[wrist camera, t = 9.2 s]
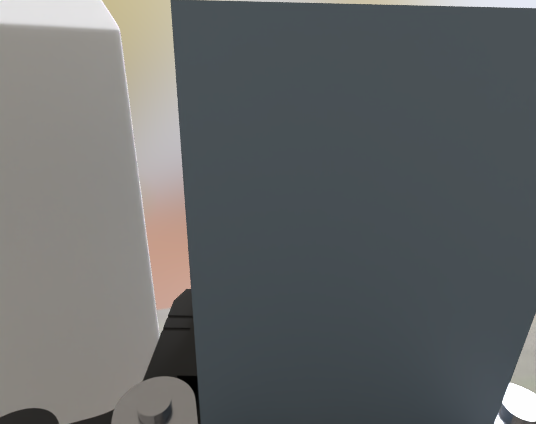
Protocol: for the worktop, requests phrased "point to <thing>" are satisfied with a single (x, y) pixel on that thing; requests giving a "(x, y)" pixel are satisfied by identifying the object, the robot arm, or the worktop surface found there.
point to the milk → (69, 215)
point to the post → (357, 208)
